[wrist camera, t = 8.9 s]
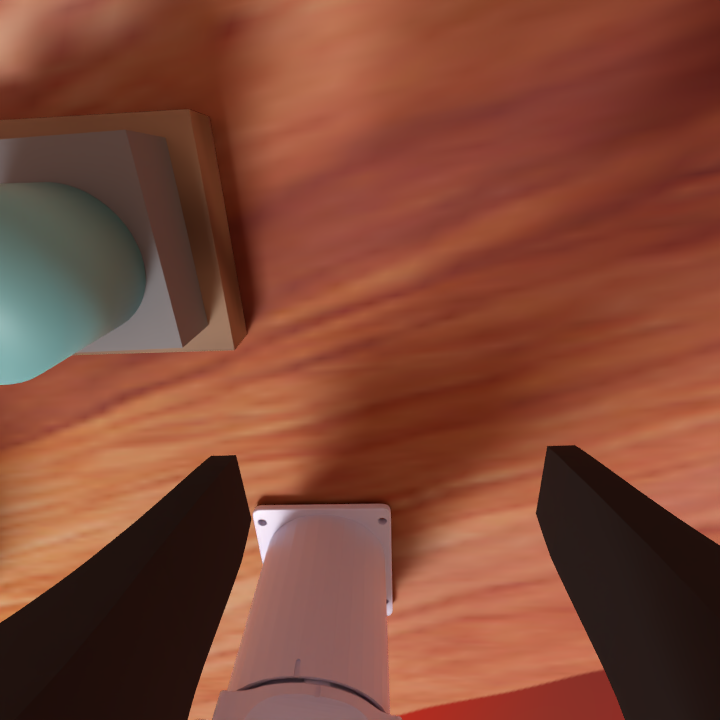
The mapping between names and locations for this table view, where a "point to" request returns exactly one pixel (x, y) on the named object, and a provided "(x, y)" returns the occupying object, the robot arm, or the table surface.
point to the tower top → (126, 222)
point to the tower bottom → (198, 202)
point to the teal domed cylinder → (60, 275)
